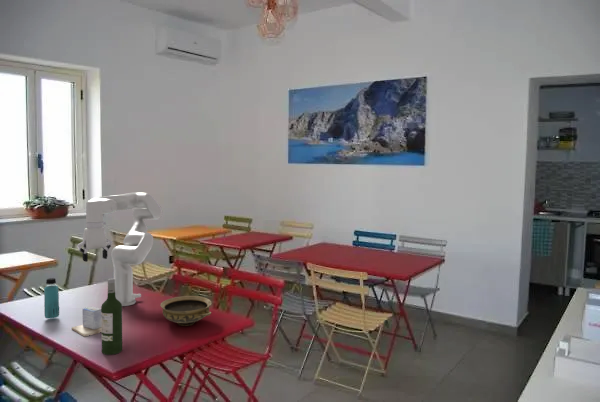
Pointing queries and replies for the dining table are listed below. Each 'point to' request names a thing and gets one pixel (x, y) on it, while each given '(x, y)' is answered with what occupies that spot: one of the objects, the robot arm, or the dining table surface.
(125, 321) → the dining table surface
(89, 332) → the birch board
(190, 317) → the ceramic bowl
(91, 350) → the dining table surface
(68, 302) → the dining table surface
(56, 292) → the beverage bottle
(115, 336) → the wine bottle
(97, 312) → the medicine box
